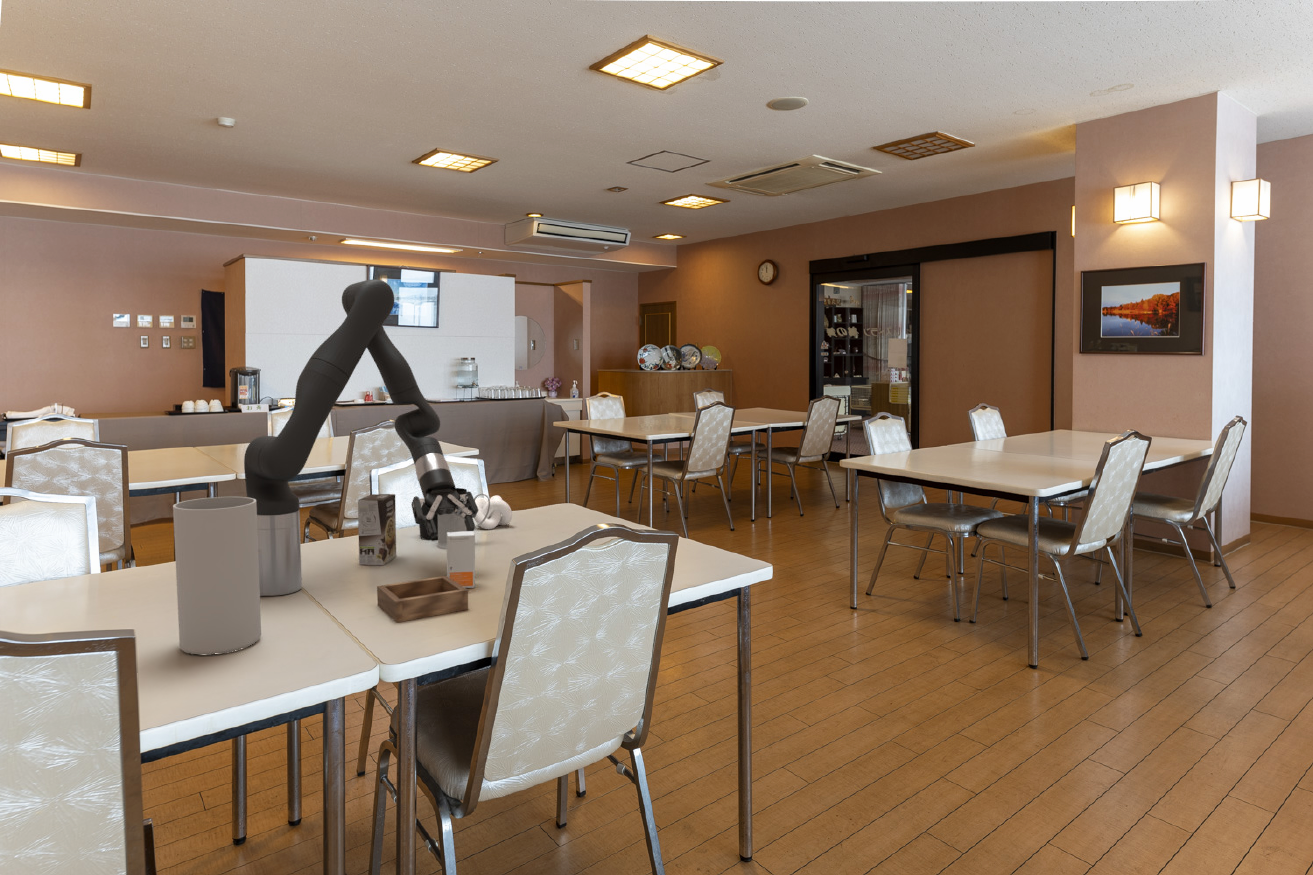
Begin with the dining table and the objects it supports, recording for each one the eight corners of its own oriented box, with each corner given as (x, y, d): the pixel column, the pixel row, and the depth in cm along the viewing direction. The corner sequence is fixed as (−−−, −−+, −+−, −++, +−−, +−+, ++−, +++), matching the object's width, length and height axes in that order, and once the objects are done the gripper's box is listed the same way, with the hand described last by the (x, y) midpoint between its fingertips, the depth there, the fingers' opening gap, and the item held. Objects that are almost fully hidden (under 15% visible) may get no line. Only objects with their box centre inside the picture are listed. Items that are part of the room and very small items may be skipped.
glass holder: (435, 542, 215) (435, 488, 214) (488, 539, 219) (488, 486, 218) (436, 549, 207) (436, 493, 205) (491, 546, 211) (491, 491, 210)
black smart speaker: (412, 539, 219) (411, 503, 218) (429, 532, 228) (429, 498, 227) (442, 541, 216) (442, 505, 215) (459, 534, 225) (458, 499, 224)
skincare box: (447, 589, 172) (446, 535, 170) (446, 584, 176) (446, 531, 174) (475, 588, 173) (475, 534, 172) (474, 582, 177) (474, 530, 176)
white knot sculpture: (517, 523, 241) (517, 494, 240) (505, 532, 229) (505, 501, 229) (482, 522, 243) (482, 493, 242) (468, 530, 231) (467, 500, 230)
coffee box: (384, 565, 191) (383, 499, 189) (358, 565, 191) (356, 499, 189) (397, 556, 200) (396, 493, 198) (372, 555, 200) (371, 493, 198)
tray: (396, 622, 150) (395, 601, 150) (377, 605, 160) (377, 586, 160) (468, 609, 158) (468, 590, 158) (446, 593, 169) (446, 575, 168)
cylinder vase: (273, 631, 144) (269, 496, 142) (240, 657, 132) (234, 510, 130) (204, 631, 144) (198, 496, 142) (164, 657, 132) (156, 509, 129)
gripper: (407, 469, 179) (426, 528, 171) (467, 465, 187) (487, 521, 179) (401, 489, 184) (418, 547, 176) (459, 484, 192) (478, 539, 184)
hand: (453, 534), depth 177 cm, fingers open, 8 cm apart
